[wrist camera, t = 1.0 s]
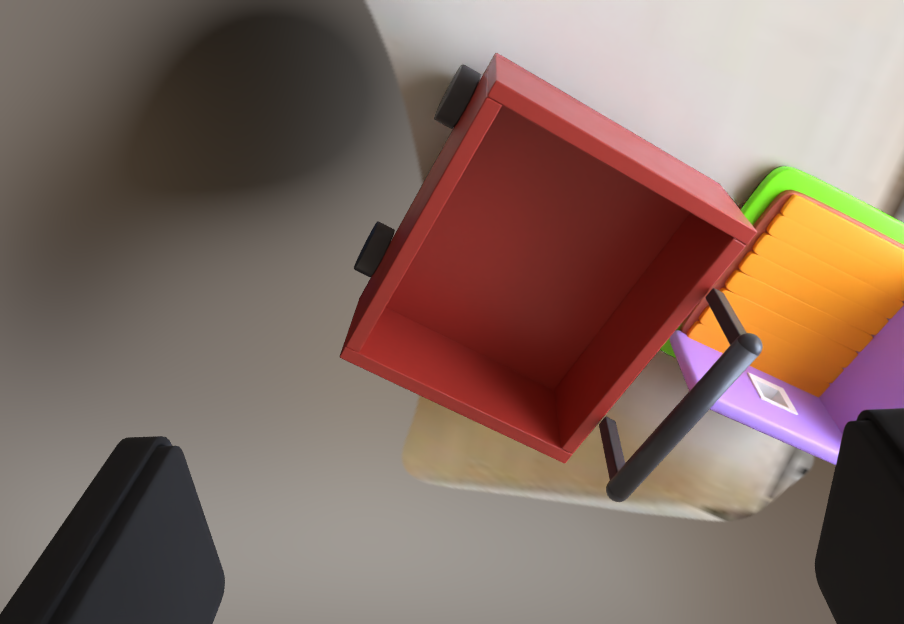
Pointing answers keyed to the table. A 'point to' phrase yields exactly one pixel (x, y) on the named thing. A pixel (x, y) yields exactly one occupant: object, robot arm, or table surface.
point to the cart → (548, 272)
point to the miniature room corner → (807, 314)
